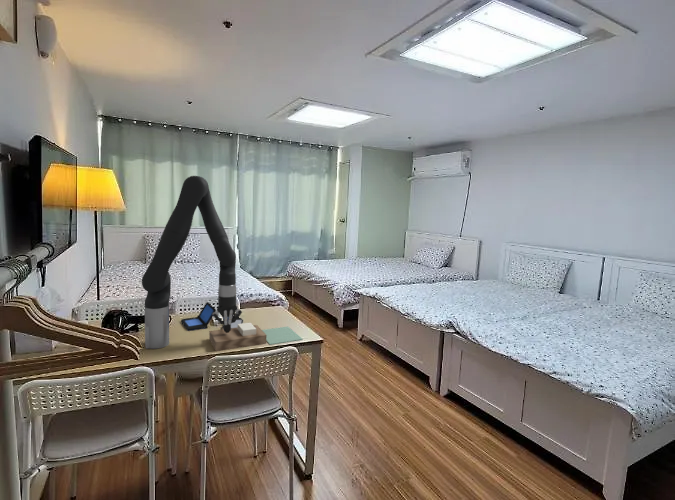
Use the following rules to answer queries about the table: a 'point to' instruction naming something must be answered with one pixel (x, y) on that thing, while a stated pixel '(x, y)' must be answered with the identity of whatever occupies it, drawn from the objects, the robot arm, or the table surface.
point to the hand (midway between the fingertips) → (227, 332)
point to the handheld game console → (200, 319)
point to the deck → (235, 339)
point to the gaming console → (236, 323)
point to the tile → (246, 329)
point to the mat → (281, 335)
